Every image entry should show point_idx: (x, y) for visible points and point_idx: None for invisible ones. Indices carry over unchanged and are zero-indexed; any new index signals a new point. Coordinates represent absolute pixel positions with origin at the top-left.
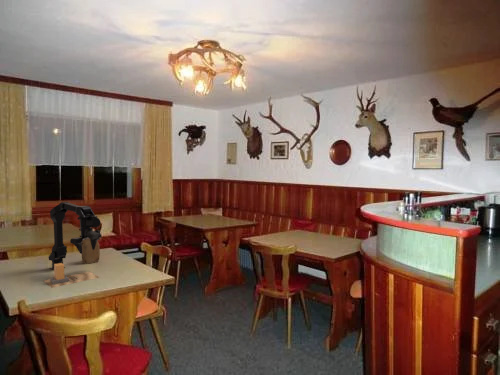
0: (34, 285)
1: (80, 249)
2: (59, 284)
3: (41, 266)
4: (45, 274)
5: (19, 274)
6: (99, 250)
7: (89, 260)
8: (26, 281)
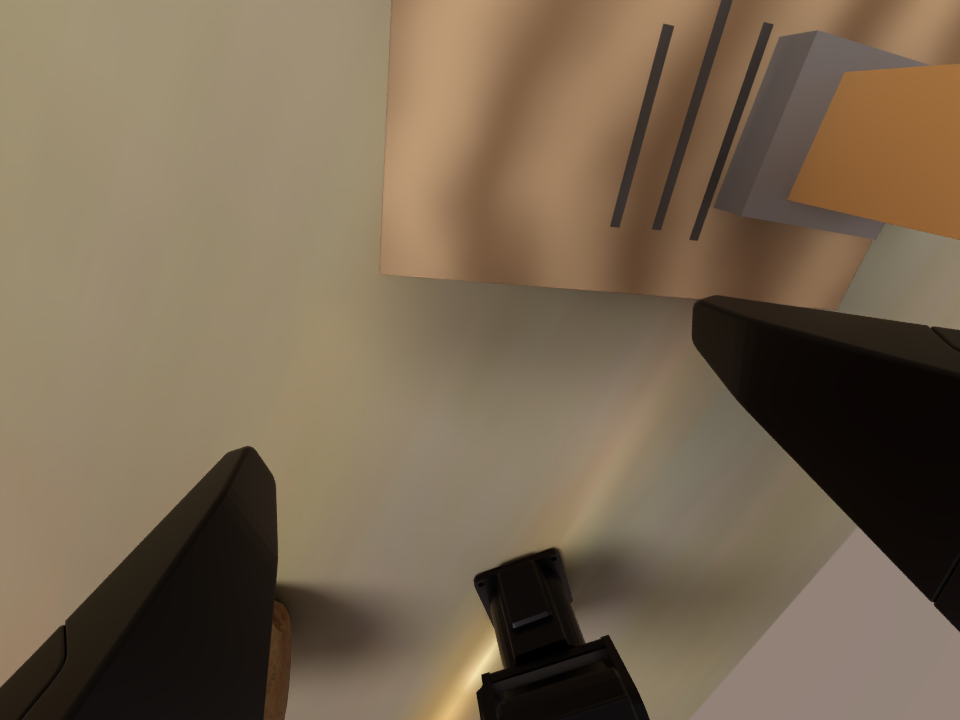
0: (908, 270)
1: (888, 329)
2: (897, 17)
3: None
4: (665, 497)
5: (743, 583)
6: None
7: None
8: None
